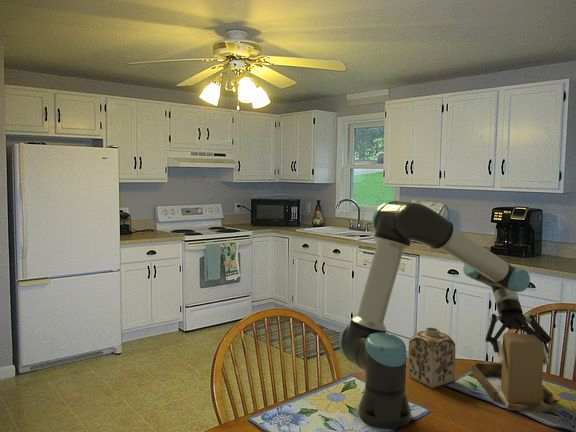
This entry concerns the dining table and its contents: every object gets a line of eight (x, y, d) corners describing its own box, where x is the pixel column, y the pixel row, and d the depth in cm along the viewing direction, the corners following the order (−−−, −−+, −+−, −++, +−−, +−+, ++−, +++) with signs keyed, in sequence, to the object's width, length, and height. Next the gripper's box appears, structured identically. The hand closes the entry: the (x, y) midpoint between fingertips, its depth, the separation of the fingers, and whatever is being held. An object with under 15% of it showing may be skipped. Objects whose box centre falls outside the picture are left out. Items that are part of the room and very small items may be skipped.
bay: (500, 409, 147) (500, 397, 147) (471, 372, 175) (471, 362, 175) (561, 411, 146) (561, 399, 146) (522, 374, 174) (522, 363, 174)
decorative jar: (429, 370, 177) (431, 322, 176) (455, 381, 168) (457, 331, 166) (406, 376, 171) (407, 327, 170) (431, 389, 161) (433, 336, 160)
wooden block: (532, 393, 158) (535, 333, 156) (542, 407, 148) (545, 343, 147) (500, 390, 160) (502, 331, 158) (507, 404, 150) (509, 341, 149)
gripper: (541, 309, 168) (560, 368, 154) (468, 308, 170) (480, 366, 156) (549, 298, 162) (569, 358, 148) (473, 297, 164) (487, 356, 150)
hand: (524, 362), depth 152 cm, fingers open, 13 cm apart
